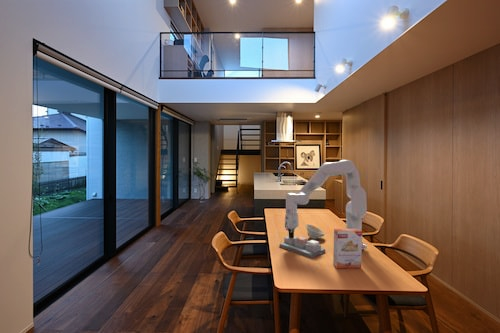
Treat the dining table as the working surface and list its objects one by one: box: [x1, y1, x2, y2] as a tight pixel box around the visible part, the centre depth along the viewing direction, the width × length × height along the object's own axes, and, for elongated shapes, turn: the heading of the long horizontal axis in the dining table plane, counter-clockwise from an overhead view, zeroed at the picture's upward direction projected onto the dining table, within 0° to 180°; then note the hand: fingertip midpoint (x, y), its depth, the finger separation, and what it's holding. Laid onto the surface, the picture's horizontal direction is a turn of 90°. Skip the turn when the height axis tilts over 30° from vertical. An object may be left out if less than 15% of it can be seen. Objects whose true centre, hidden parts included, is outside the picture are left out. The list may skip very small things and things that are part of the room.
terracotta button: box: [296, 236, 308, 243], centre depth 169 cm, size 5×5×3 cm
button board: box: [279, 235, 326, 259], centre depth 169 cm, size 26×15×6 cm, turn 41°
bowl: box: [305, 224, 325, 240], centre depth 191 cm, size 15×14×10 cm
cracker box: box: [332, 228, 363, 269], centre depth 143 cm, size 14×6×21 cm, turn 93°
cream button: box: [307, 239, 320, 247], centre depth 162 cm, size 5×5×3 cm
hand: (291, 237), depth 176 cm, fingers closed
